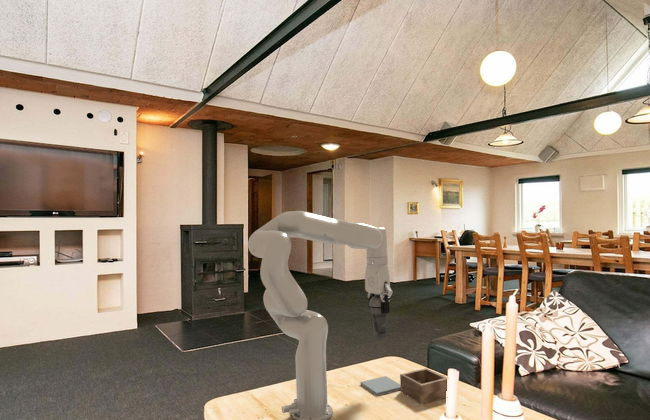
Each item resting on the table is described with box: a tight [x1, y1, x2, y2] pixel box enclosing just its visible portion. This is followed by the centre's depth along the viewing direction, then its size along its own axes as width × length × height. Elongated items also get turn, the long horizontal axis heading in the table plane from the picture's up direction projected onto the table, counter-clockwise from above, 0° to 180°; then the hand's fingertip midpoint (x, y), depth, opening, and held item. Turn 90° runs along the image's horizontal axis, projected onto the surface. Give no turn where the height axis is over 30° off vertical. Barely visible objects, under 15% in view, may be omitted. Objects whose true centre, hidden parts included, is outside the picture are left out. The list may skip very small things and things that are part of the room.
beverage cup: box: [368, 295, 389, 341], centre depth 146 cm, size 7×7×20 cm
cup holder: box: [399, 367, 448, 405], centre depth 138 cm, size 11×11×6 cm
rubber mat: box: [360, 375, 401, 397], centre depth 146 cm, size 11×11×1 cm
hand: (378, 310), depth 146 cm, fingers closed on beverage cup, 7 cm apart
